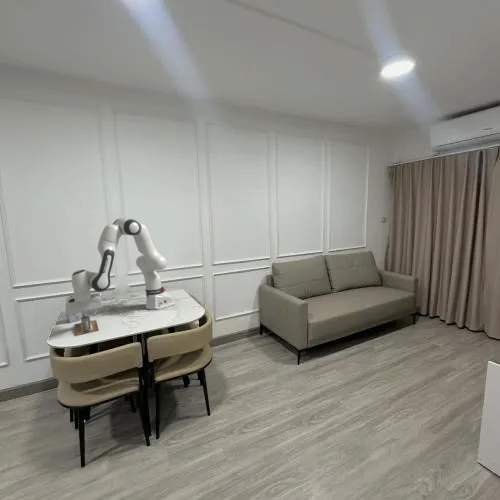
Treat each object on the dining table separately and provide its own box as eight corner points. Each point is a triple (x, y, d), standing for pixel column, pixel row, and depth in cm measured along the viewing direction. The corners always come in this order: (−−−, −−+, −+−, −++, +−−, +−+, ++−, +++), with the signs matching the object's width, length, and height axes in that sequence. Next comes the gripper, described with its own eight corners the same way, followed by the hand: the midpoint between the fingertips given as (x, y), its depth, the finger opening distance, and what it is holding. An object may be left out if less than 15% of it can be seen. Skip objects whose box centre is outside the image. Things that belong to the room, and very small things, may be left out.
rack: (96, 320, 189) (94, 311, 188) (98, 330, 173) (97, 320, 172) (75, 325, 183) (73, 315, 182) (75, 336, 167) (74, 325, 166)
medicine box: (80, 318, 195) (78, 306, 194) (82, 319, 192) (80, 307, 191) (67, 321, 189) (65, 309, 188) (69, 323, 186) (67, 311, 185)
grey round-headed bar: (90, 322, 184) (89, 315, 183) (91, 328, 174) (90, 321, 173) (81, 324, 181) (80, 317, 181) (82, 330, 172) (81, 323, 171)
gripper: (101, 291, 182) (104, 311, 184) (63, 298, 171) (67, 320, 174) (102, 294, 177) (105, 314, 179) (63, 301, 166) (67, 323, 168)
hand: (86, 317), depth 176 cm, fingers open, 8 cm apart
